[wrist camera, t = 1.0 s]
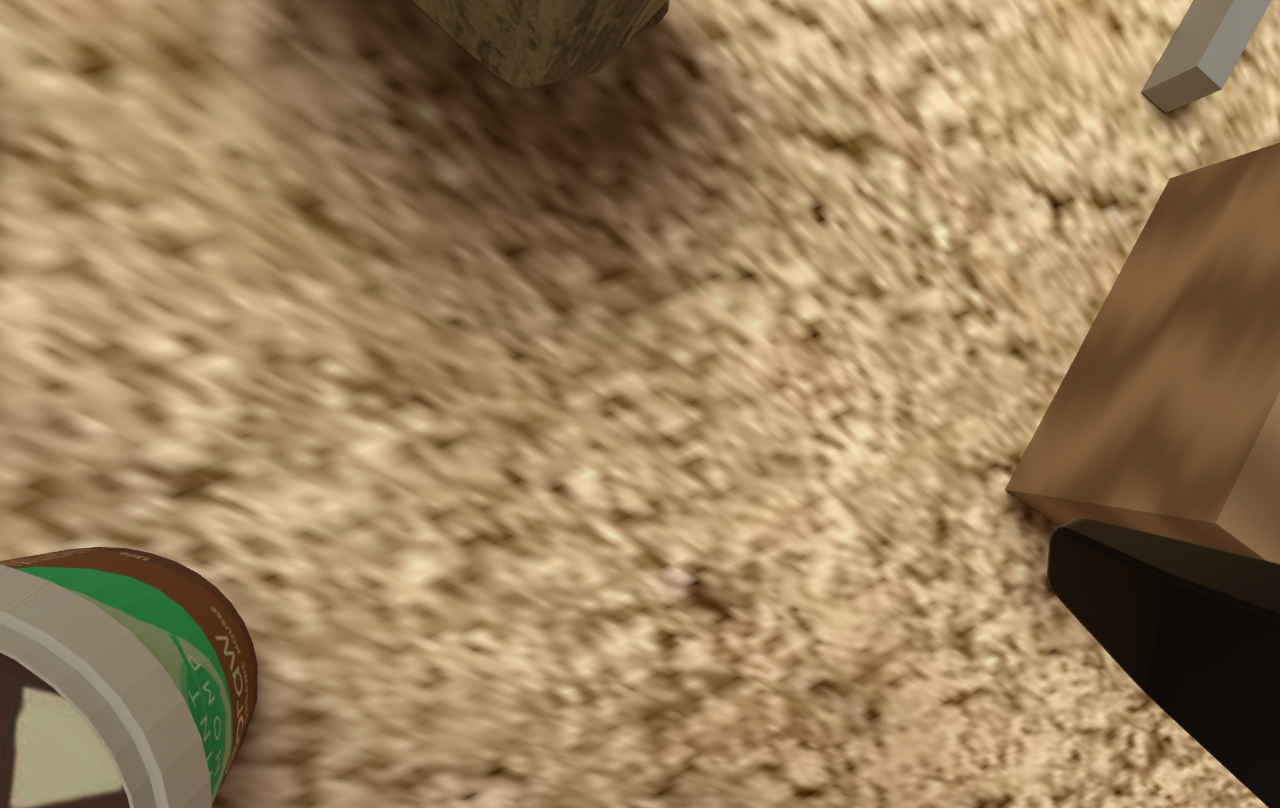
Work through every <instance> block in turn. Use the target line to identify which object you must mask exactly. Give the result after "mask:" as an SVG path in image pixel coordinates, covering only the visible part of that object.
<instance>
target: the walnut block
mask: <svg viewBox="0 0 1280 808" xmlns="http://www.w3.org/2000/svg"><path fill="white" fill-rule="evenodd" d="M1005 490H1007V491H1008V492H1010V493H1011V494H1013V495H1014V496H1016V497H1017V498H1018V499H1020V500H1021V501H1023V502H1024V503H1026V504H1027V505H1029V506H1030V507H1031V508H1033V509H1034V510H1036V511H1037V512H1039V513H1040V514H1042V515H1043V516H1045V517H1046V518H1047V519H1049V520H1050V521H1052V522H1053V523H1055V524H1056V525H1058V526H1060V525H1062V524H1065V523H1067V522H1069V521H1071V520H1073V519H1076V518H1090V519H1095V520H1099V521H1103V522H1107V523H1112V524H1116V525H1120V526H1124V527H1128V528H1132V529H1137V530H1141V531H1145V532H1149V533H1153V534H1157V535H1162V536H1166V537H1170V538H1174V539H1178V540H1182V541H1187V542H1191V543H1195V544H1199V545H1203V546H1207V547H1212V548H1216V549H1220V550H1224V551H1228V552H1232V553H1237V554H1241V555H1245V556H1249V557H1253V558H1257V559H1262V560H1266V561H1270V562H1274V563H1278V564H1280V143H1277V144H1274V145H1271V146H1268V147H1265V148H1262V149H1259V150H1256V151H1253V152H1250V153H1247V154H1244V155H1241V156H1238V157H1235V158H1231V159H1228V160H1225V161H1222V162H1219V163H1216V164H1213V165H1210V166H1207V167H1204V168H1201V169H1198V170H1195V171H1192V172H1189V173H1185V174H1182V175H1179V176H1176V177H1173V178H1170V179H1169V181H1168V183H1167V185H1166V187H1165V189H1164V191H1163V193H1162V195H1161V196H1160V198H1159V200H1158V202H1157V204H1156V206H1155V208H1154V210H1153V212H1152V213H1151V215H1150V217H1149V219H1148V221H1147V223H1146V225H1145V227H1144V229H1143V230H1142V232H1141V234H1140V236H1139V238H1138V240H1137V242H1136V244H1135V245H1134V247H1133V249H1132V251H1131V253H1130V255H1129V257H1128V259H1127V261H1126V262H1125V264H1124V266H1123V268H1122V270H1121V272H1120V274H1119V276H1118V278H1117V279H1116V281H1115V283H1114V285H1113V287H1112V289H1111V291H1110V293H1109V295H1108V296H1107V298H1106V300H1105V302H1104V304H1103V306H1102V308H1101V310H1100V311H1099V313H1098V315H1097V317H1096V319H1095V321H1094V323H1093V325H1092V327H1091V328H1090V330H1089V332H1088V334H1087V336H1086V338H1085V340H1084V342H1083V344H1082V345H1081V347H1080V349H1079V351H1078V353H1077V355H1076V357H1075V359H1074V361H1073V362H1072V364H1071V366H1070V368H1069V370H1068V372H1067V374H1066V376H1065V377H1064V379H1063V381H1062V383H1061V385H1060V387H1059V389H1058V391H1057V393H1056V394H1055V396H1054V398H1053V400H1052V402H1051V404H1050V406H1049V408H1048V410H1047V411H1046V413H1045V415H1044V417H1043V419H1042V421H1041V423H1040V425H1039V427H1038V428H1037V430H1036V432H1035V434H1034V436H1033V438H1032V440H1031V442H1030V444H1029V445H1028V447H1027V449H1026V451H1025V453H1024V455H1023V457H1022V459H1021V460H1020V462H1019V464H1018V466H1017V468H1016V470H1015V472H1014V474H1013V476H1012V477H1011V479H1010V481H1009V483H1008V485H1007V487H1006V489H1005Z"/></svg>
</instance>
